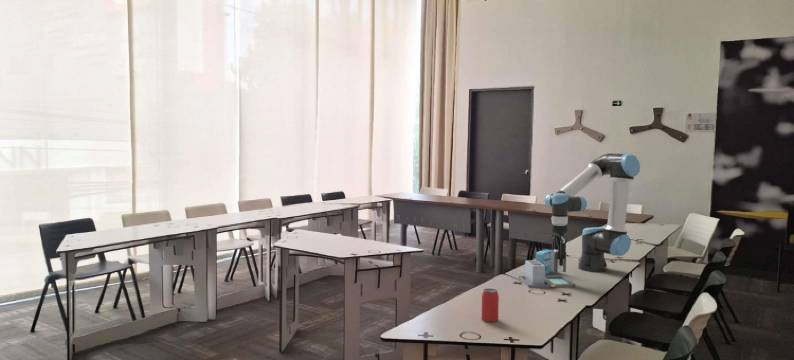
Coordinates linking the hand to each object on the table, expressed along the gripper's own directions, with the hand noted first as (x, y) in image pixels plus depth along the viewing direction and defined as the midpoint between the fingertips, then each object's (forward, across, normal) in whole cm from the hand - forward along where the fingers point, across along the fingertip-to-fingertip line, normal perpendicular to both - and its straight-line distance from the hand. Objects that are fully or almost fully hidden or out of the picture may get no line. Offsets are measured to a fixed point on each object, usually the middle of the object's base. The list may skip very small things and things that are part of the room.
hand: (558, 270), depth 264 cm
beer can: (+7, +52, -47) cm, 70 cm away
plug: (0, 0, 0) cm, 0 cm away
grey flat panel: (+6, 0, -6) cm, 9 cm away
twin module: (+6, 0, -12) cm, 13 cm away
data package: (+7, -20, 0) cm, 21 cm away
